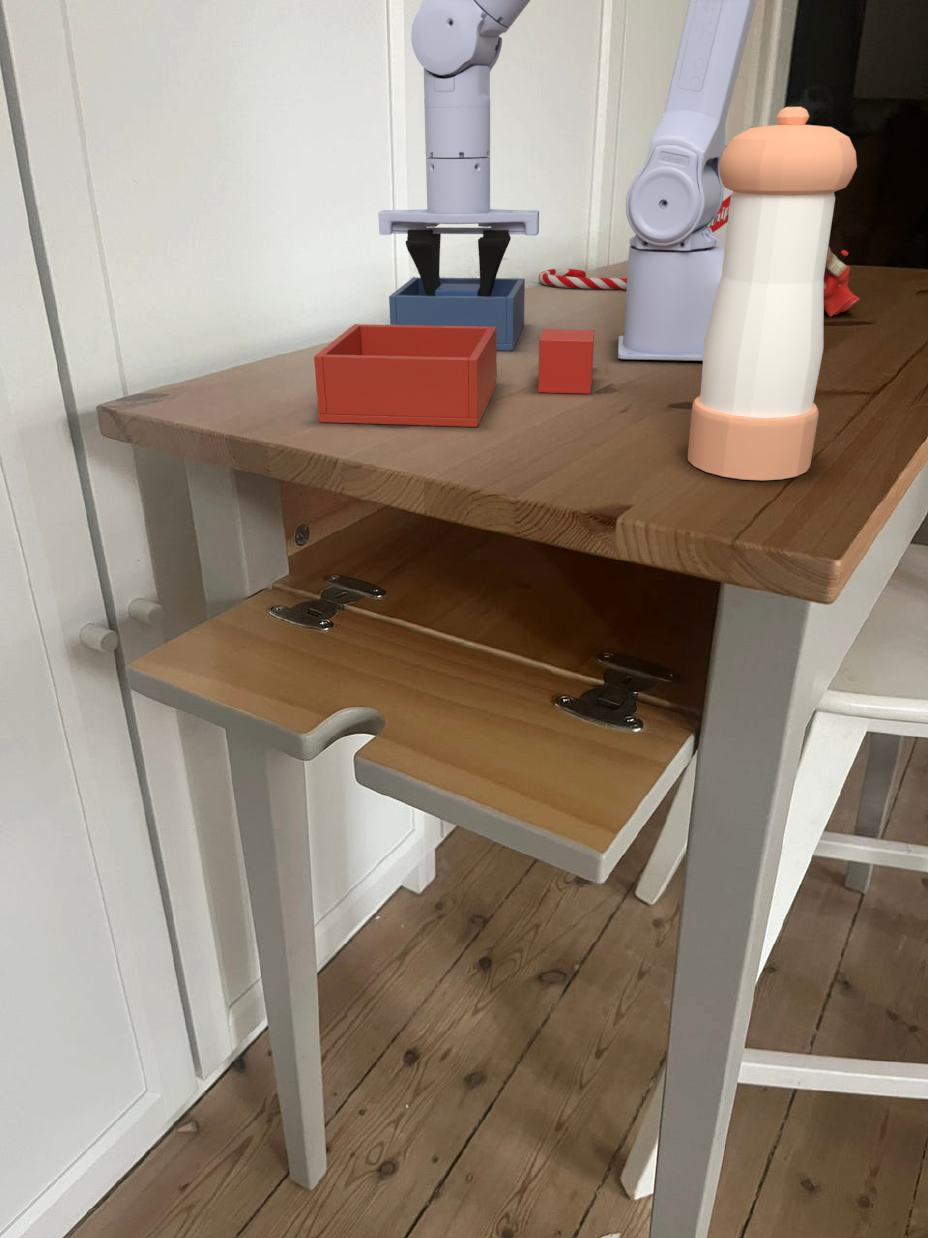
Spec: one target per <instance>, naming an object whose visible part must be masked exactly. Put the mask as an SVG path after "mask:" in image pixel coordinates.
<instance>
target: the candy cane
mask: <svg viewBox="0 0 928 1238" xmlns="http://www.w3.org/2000/svg"><path fill="white" fill-rule="evenodd" d="M537 279H538V281H539V283H540V284H542V285H545V286H548V287H552V288H553V287H554V288H563V289H578V290H580V289H581V290H615V291H617V290H620V291H621V290H623V291H624V290H627V277H587V274H586V271H584V270H581V269H576V268H551V269H546V270H543V271H541V272H540V273H539V274H538V277H537Z"/></svg>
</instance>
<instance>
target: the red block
mask: <svg viewBox="0 0 928 1238" xmlns="http://www.w3.org/2000/svg"><path fill="white" fill-rule="evenodd" d="M538 342H539V344H538V379H537V382H538V383H537V384H538V385H537V392H538V393H540V394H541V393H544V394H545V393H546V394H586V395H589V394H590V395H591V393H592V385H593V370H594V352H595V351H594V349H595V348H594V347H595V329H563V328H562V329H561V328H560V329H559V328H558V329H557V328H556V329H555V328H550V329H549V328H543V330H542V332H541V335H540V337H539V341H538Z"/></svg>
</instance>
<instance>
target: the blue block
mask: <svg viewBox="0 0 928 1238" xmlns="http://www.w3.org/2000/svg"><path fill="white" fill-rule="evenodd" d="M479 290H480V284H441V285H440V286H439V287H438V288H437V289H436V290H435V296H479Z"/></svg>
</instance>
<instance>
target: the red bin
mask: <svg viewBox="0 0 928 1238" xmlns="http://www.w3.org/2000/svg"><path fill="white" fill-rule="evenodd" d="M496 347H497V327H495V326H489V327H488V326H431V325H390V324H366V323H364V324H363V323H362V324H360V323H359V324H358V323H355V324H353V325H352V326H350V327H349V328H348V329H346V330H345V331H344V332H342V334H340V335H338V336H337V337H336V338H335V339H334V340H332V341H331V342H330V343H329V344H328V345H326V346H325V347H324V348H322V349H321V350H320V351H318V352H317V353H316V354H315V355H314V356H313V360H314V361H313V362H314V373H315V375H314V376H315V385H316V386H315V387H316V397H317V398H316V399H317V409H318V410H317V411H318V421H319V423H329V424H330V423H331V424H332V423H333V424H363V425H365V424H367V425H368V424H369V425H397V426H398V425H399V426H426V427H427V426H431V427H433V426H434V427H463V428H465V427H466V428H478V426H479V424H480V422H481V420H482V418H483V415H484V413H485V411H486V410H487V407H488V405H489V402H490V400H491V399H492V396H493V394H494V392H495V390H496V387H497V350H496Z"/></svg>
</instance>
